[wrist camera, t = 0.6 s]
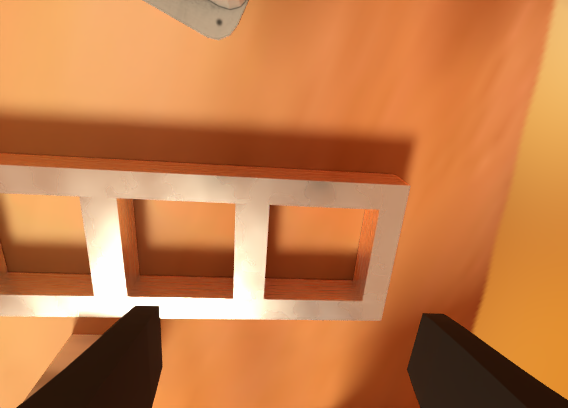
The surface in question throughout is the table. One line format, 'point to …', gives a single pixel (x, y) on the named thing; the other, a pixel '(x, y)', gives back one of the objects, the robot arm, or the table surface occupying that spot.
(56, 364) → the birch peg
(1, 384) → the table surface
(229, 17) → the emergency button
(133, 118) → the table surface
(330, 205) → the tan slotted board
